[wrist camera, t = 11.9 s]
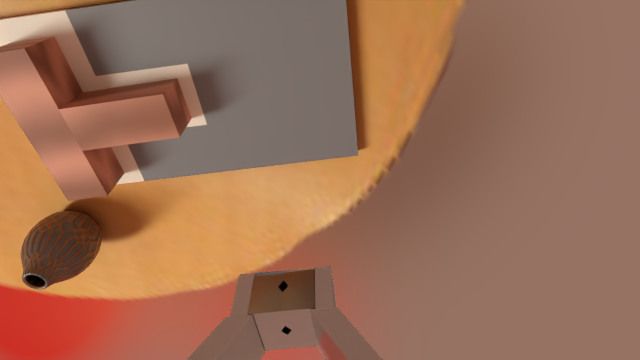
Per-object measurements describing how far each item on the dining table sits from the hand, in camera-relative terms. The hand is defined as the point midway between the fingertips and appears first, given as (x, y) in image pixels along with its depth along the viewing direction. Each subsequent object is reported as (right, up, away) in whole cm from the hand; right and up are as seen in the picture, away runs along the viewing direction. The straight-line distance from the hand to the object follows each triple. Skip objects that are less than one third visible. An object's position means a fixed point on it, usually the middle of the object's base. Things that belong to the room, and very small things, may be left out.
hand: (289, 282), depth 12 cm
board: (-12, +12, +24) cm, 29 cm away
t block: (-18, +10, +23) cm, 31 cm away
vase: (-28, -2, +32) cm, 43 cm away
